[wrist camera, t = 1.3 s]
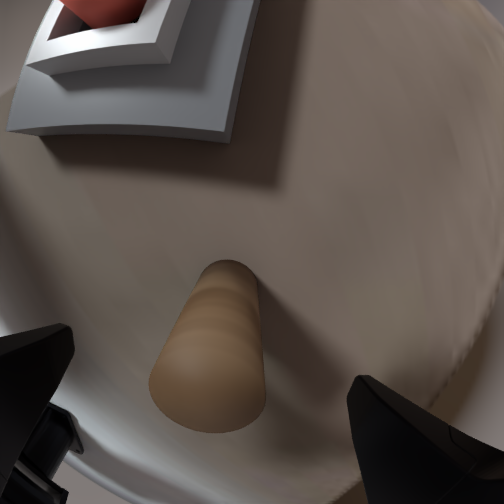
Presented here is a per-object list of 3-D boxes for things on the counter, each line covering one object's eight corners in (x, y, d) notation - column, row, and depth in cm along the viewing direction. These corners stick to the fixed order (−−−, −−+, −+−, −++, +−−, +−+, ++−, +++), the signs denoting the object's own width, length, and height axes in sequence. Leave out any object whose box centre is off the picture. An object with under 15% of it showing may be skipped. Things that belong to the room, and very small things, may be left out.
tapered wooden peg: (252, 319, 15) (254, 438, 7) (195, 310, 14) (151, 420, 7) (262, 264, 14) (277, 359, 6) (201, 255, 14) (147, 337, 6)
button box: (229, 143, 12) (218, 119, 8) (37, 136, 12) (-20, 128, 7) (268, -29, 10) (273, -82, 5) (94, -17, 9) (63, -51, 4)
